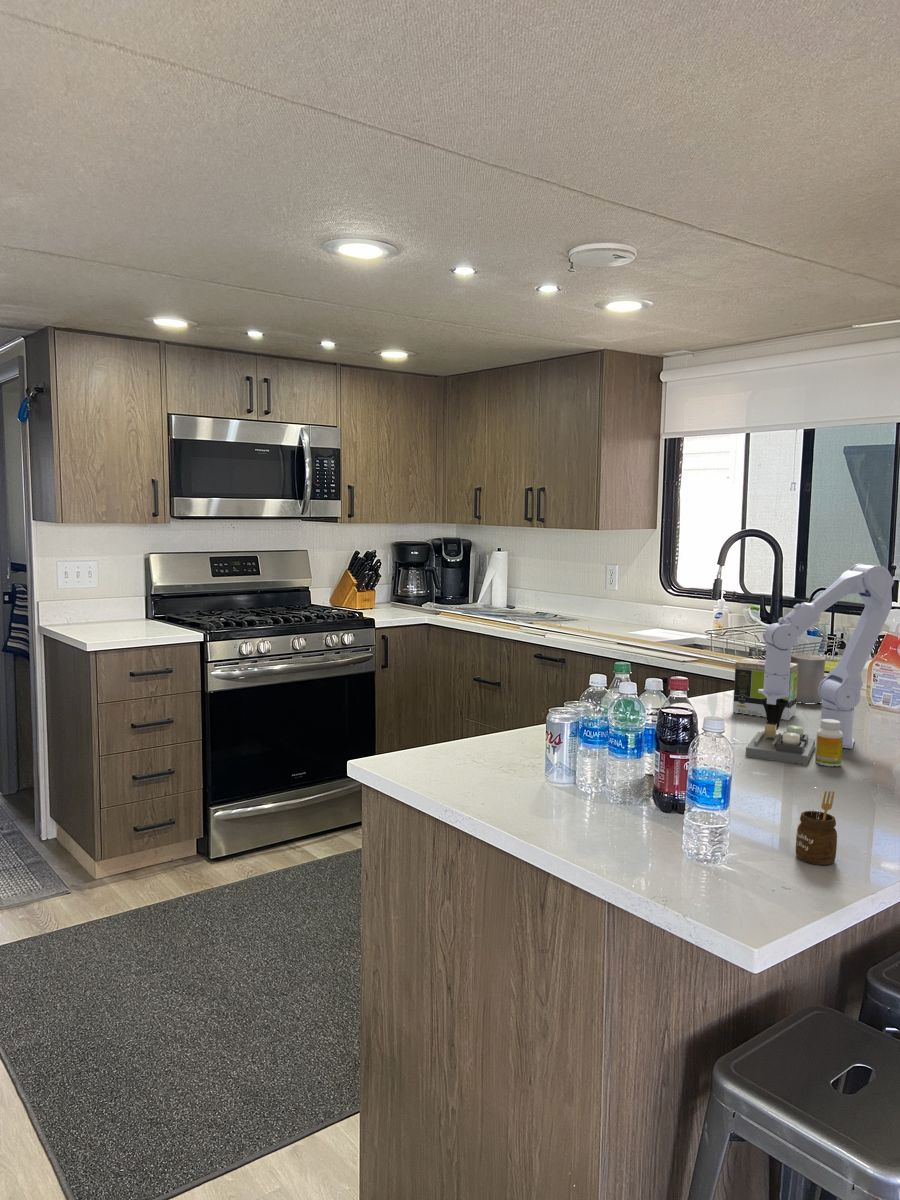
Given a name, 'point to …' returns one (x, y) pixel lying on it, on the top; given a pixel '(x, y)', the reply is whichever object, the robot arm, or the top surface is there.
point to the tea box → (752, 680)
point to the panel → (780, 749)
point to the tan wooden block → (770, 730)
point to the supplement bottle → (829, 743)
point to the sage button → (796, 730)
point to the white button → (791, 739)
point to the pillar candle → (809, 676)
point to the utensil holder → (817, 834)
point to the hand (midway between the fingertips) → (773, 728)
